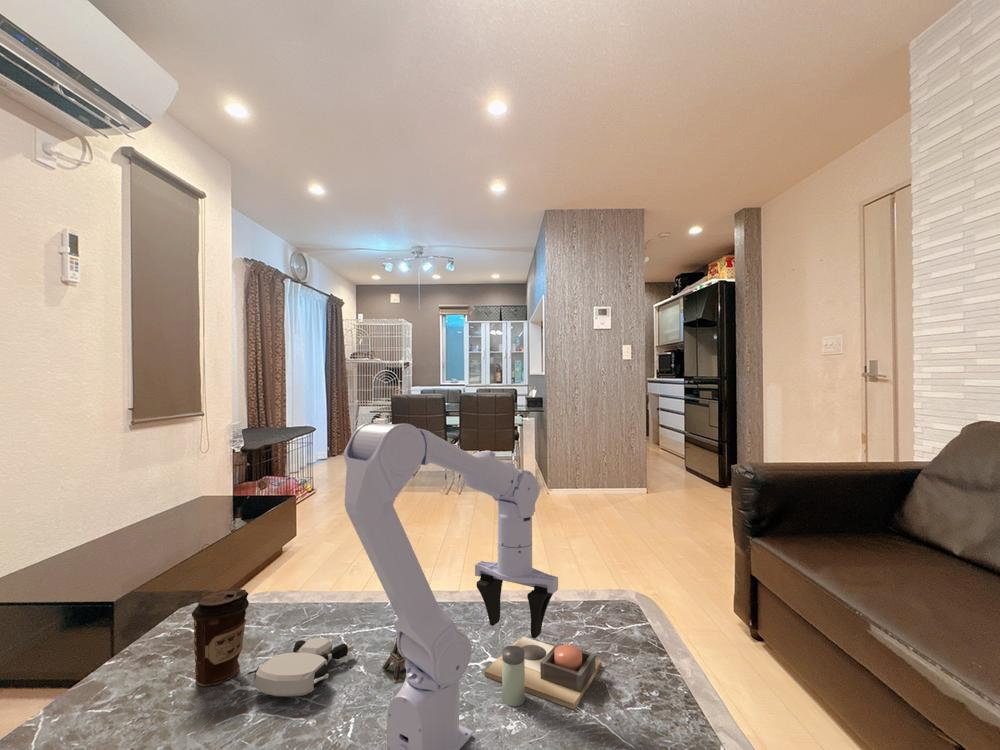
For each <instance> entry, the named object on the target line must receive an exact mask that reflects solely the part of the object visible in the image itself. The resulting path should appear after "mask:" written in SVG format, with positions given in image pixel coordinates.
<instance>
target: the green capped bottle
mask: <svg viewBox="0 0 1000 750" xmlns="http://www.w3.org/2000/svg"><path fill="white" fill-rule="evenodd" d="M501 655H502V682H501V685H502V687H501V688H502V690H501V692H502V694H501V695H502V696H501V697H502V702H503V704H504V705H506V706H509V707H519V706H521V705H523V704H524V703H525V701H526V698H525V697H526V694H525V693H526V691H525V653H524V649H523V648H521V647H519V646H512V645H508V646H505V647H504V648H502V651H501Z"/></svg>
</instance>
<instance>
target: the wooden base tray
mask: <svg viewBox="0 0 1000 750" xmlns="http://www.w3.org/2000/svg"><path fill="white" fill-rule="evenodd" d="M560 645H563V644H562V643H559V642H557V643H556V644H555V645H552V644H548V643H545V642H542V641H538V640H535V639H532V638H528V637H525V636H520V637H519V638H517V640H516V641H515V642H514V643H513V644H512V645H511V646H519V647H521V648H523V649H524V653H525V693H529V694H531V695H534V696H536V697H539V698H542V699H545V700H547V701H550V702H553V703H555V704H558V705H561V706H564V707H566V708H568V709H571V710H575V709H576V708H577V706H578V705H579V702H580V701H581V699H582V698H583V697H584V694H585V693H586V691H587V690H588V688H589V686H590V685H591V683H592V682H593V680H594V678H595V677H596V675H597V674H598V672H599V670H600V669H601V667H602V660H599V659H596V653H592V652H589V651H585V650H583V649H580V650H581V651H582V667H581V669H580V670H579V671H578V672H576V671H573V670H570V669H567V668H564V667H561V666H558V665H555V657H554V651H555V648H556V647H558V646H560ZM484 676H485V677H486V678H489V679H491V680H494V681H496V682H499V683H502V654H501V655H500V656H499V657H498V658H497V659H496V660H495V661H494V662H492V663H491V665H490V666H489V667H487V668H486V670H484Z"/></svg>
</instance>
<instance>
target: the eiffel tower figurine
mask: <svg viewBox="0 0 1000 750" xmlns="http://www.w3.org/2000/svg"><path fill="white" fill-rule="evenodd" d="M388 649H392V651H390V653H389V654H390V655H389V657H388V659H387V660H386V662H385V663H384V664H383V666H382V667H381V668H380V669H379V671H381V672H382V673H383V675H385V676H386V678H388V679H389V680H390V681H391V682H392V683H393V684H394V685H395V684H397V683H400V682H402V681H403V680H404V681H405V678H406V668H405V658H404V657H403V656H401V654H400V653H399V651H398V648H397V637H396V638H395V643H394V646H393V645H392V646H389V648H388Z"/></svg>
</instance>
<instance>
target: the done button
mask: <svg viewBox="0 0 1000 750" xmlns="http://www.w3.org/2000/svg"><path fill="white" fill-rule="evenodd" d="M581 650H582V649H580V648H579V647H577V646H576V645H572V644H562V645H560V646H558V647H556V648H555V651H554V657H555V665H558V666H561V667H564V668H567V669H570V670H573V671H576V672H578V671H579V670H580V669H581V667H582V651H581Z"/></svg>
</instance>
